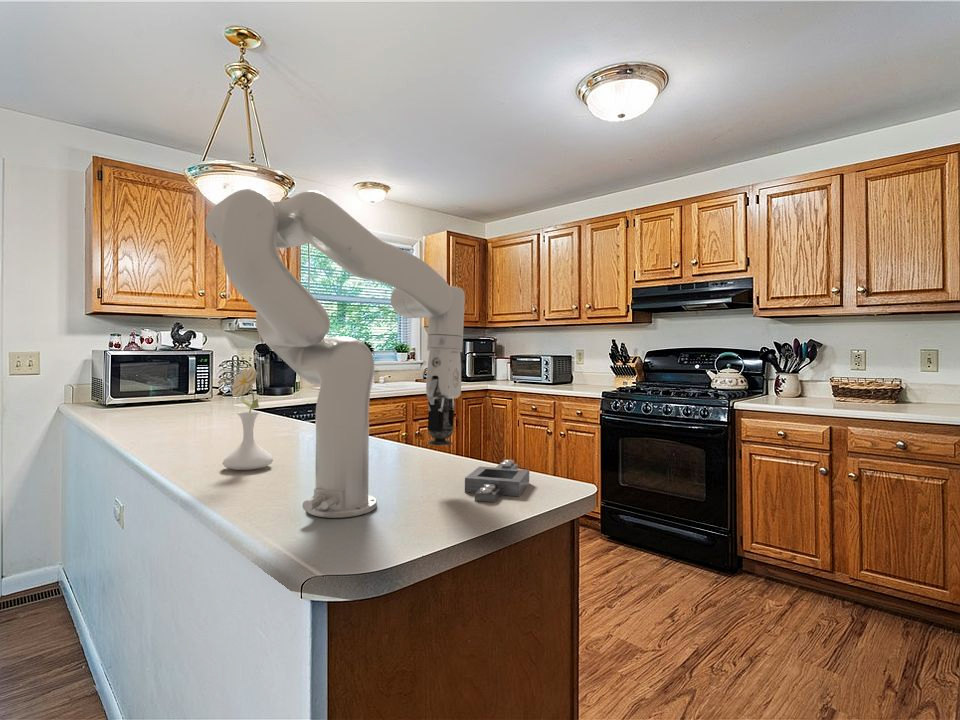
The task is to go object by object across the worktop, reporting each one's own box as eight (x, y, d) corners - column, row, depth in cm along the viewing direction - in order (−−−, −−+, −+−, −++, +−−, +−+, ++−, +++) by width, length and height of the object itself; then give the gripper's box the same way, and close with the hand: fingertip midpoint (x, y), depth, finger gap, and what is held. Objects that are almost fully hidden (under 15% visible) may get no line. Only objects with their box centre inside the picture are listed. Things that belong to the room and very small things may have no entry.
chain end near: (513, 504, 102) (513, 492, 102) (456, 499, 106) (456, 487, 105) (529, 483, 119) (529, 473, 119) (479, 479, 122) (479, 469, 122)
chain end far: (519, 496, 108) (519, 478, 108) (464, 492, 111) (464, 474, 111) (533, 477, 125) (533, 461, 125) (485, 473, 128) (486, 458, 128)
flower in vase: (219, 466, 133) (219, 365, 132) (268, 461, 139) (268, 365, 138) (226, 477, 122) (227, 367, 121) (279, 471, 128) (279, 367, 127)
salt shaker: (420, 442, 114) (423, 386, 114) (442, 440, 118) (445, 386, 118) (437, 446, 109) (440, 387, 110) (459, 444, 113) (462, 387, 114)
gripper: (448, 343, 105) (444, 435, 104) (473, 347, 121) (469, 427, 121) (412, 341, 107) (408, 432, 106) (441, 346, 123) (437, 424, 123)
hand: (440, 428), depth 114 cm, fingers closed on salt shaker, 5 cm apart
